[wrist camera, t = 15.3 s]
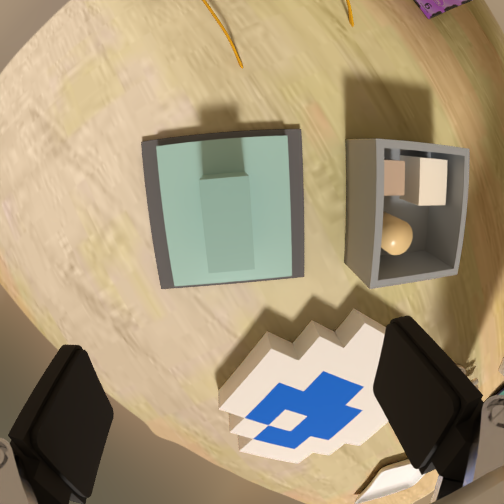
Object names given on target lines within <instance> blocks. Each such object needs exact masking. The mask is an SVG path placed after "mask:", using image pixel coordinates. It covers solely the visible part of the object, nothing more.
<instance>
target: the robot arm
mask: <svg viewBox="0 0 504 504" xmlns="http://www.w3.org/2000/svg"><path fill="white" fill-rule="evenodd" d="M477 383H478V379H477V378H475V379H472V380H471V381H470V380H469V379H468V377H467V376H466V370H465V369H464V368H463V367H462V366H461V365H457V364H455V363H454V362H453V361H452V360H451V358H450V357H449V356H448V355H447V354H446V353H445V352H444V351H443V350H442V349H441V348H440V347H439V345H438V344H437V343H436V342H435V341H434V340H433V339H432V338H431V337H430V336H429V335H428V334H427V333H426V332H425V331H424V330H423V329H422V328H421V327H420V326H419V325H418V323H417V322H416V321H415V320H414V319H413V318H412V317H410V316H404V317H399V318H394V319H392V320H391V322H390V324H388V325H387V326H386V330H385V335H384V340H383V345H382V350H381V354H380V359H379V363H378V367H377V371H376V375H375V379H374V383H373V393H374V396H375V397H376V399H377V401H378V403H379V405H380V406H381V408H382V410H383V412H384V414H385V416H386V417H387V419H388V421H389V423H390V425H391V427H392V429H393V430H394V432H395V434H396V436H397V438H398V440H399V442H400V444H401V445H402V447H403V449H404V451H405V453H406V455H407V457H408V459H409V461H410V463H411V465H412V466H413V468H415V469H419V471H420V473H421V475H423V474H426V473H428V472H430V471H432V470H434V469H436V470H437V472H438V474H439V476H438V480H437V483H436V486H435V490H434V493H433V496H432V499H431V502H430V504H504V395H494V396H491V397H489V398H488V399H486V401H485V402H483V401H482V400H481V398H482V396H483V395H482V394H481V392H480V391H479V390H478V385H477ZM112 420H113V408H112V407H111V404H110V402H109V400H108V398H107V396H106V394H105V392H104V390H103V388H102V385H101V383H100V381H99V379H98V377H97V374H96V372H95V370H94V368H93V365H92V363H91V361H90V358H89V356H88V353H87V352H86V351H85V350H83V349H82V347H81V346H79V345H63V346H62V347H61V348H60V349H59V351H58V352H57V354H56V355H55V357H54V359H53V360H52V362H51V363H50V365H49V366H48V368H47V369H46V371H45V372H44V374H43V376H42V377H41V379H40V380H39V382H38V384H37V385H36V387H35V388H34V390H33V392H32V394H31V395H30V397H29V398H28V401H27V402H26V404H25V406H24V407H23V409H22V411H21V412H20V414H19V416H18V418H17V419H16V421H15V423H14V425H13V427H12V429H11V431H10V433H9V434H8V436H9V437H10V438H11V442H10V444H9V443H8V442H7V441H6V440H5V439H3V438H0V504H69V500H70V501H73V502H77V503H81V504H85V503H86V498H88V497H90V496H91V494H92V490H93V486H94V482H95V478H96V475H97V470H98V467H99V464H100V460H101V456H102V453H103V449H104V446H105V443H106V439H107V436H108V432H109V429H110V426H111V423H112Z"/></svg>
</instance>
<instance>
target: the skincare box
mask: <svg viewBox="0 0 504 504" xmlns="http://www.w3.org/2000/svg"><path fill="white" fill-rule="evenodd" d="M498 371H499V372H500V373H501V374H502V375H503V376H504V358H503V360H502V363H501V365H500V367H499V370H498Z"/></svg>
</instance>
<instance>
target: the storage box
mask: <svg viewBox="0 0 504 504" xmlns="http://www.w3.org/2000/svg"><path fill="white" fill-rule="evenodd" d="M468 186H469V149H466V148H459V147H453V146H446V145H438V144H430V143H421V142H412V141H401V140H389V139H346V238H345V260H344V263H345V264H346V265H347V266H348V267H349V268H350V269H351V270H352V271H353V272H354V273H355V274H356V275H357V276H358V277H359V278H360V279H361V280H362V281H363V282H364V283H365V284H366V286H367V287H368V288H369V289H373V288H379V287H386V286H393V285H399V284H405V283H411V282H417V281H423V280H429V279H435V278H441V277H446V276H452V275H457V274H458V268H459V263H460V257H461V251H462V245H463V238H464V230H465V222H466V212H467V201H468Z"/></svg>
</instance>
